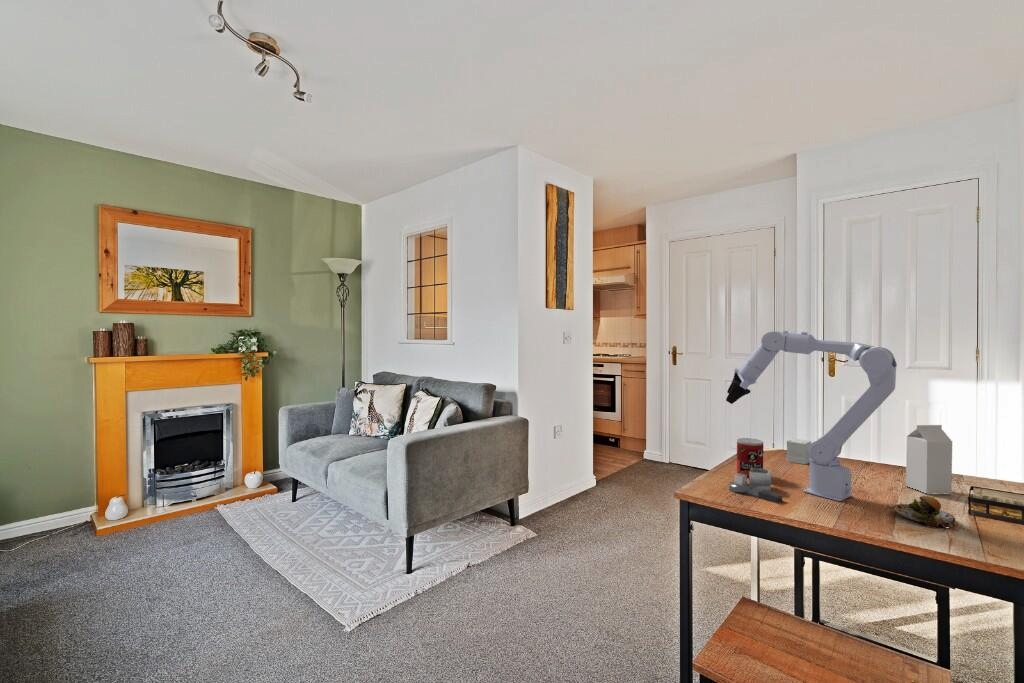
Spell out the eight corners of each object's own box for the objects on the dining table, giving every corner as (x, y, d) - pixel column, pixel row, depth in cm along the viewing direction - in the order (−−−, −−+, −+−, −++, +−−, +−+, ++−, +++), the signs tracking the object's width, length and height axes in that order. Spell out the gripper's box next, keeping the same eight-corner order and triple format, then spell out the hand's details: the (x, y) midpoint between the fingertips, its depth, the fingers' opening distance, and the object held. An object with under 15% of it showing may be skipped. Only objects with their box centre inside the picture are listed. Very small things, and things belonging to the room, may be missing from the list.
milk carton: (951, 494, 134) (952, 427, 134) (926, 495, 134) (927, 427, 134) (929, 486, 141) (930, 422, 141) (905, 486, 141) (906, 422, 141)
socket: (770, 486, 142) (771, 469, 141) (770, 492, 137) (770, 474, 137) (750, 483, 144) (750, 467, 144) (749, 488, 140) (749, 471, 139)
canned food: (738, 477, 151) (739, 442, 150) (734, 470, 158) (735, 437, 158) (765, 479, 148) (766, 444, 148) (760, 472, 156) (760, 438, 156)
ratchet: (724, 489, 139) (725, 474, 139) (736, 485, 142) (736, 470, 142) (773, 504, 127) (774, 486, 127) (785, 499, 131) (785, 482, 131)
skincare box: (811, 461, 168) (811, 441, 168) (805, 464, 164) (805, 443, 164) (792, 458, 173) (793, 438, 172) (786, 461, 169) (786, 440, 169)
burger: (892, 507, 126) (893, 479, 126) (953, 518, 118) (954, 488, 118) (892, 521, 116) (892, 491, 116) (957, 534, 109) (958, 502, 109)
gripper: (744, 351, 155) (719, 383, 161) (743, 364, 143) (716, 398, 148) (764, 363, 153) (738, 395, 159) (765, 377, 141) (737, 411, 147)
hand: (729, 397), depth 154 cm, fingers open, 7 cm apart
